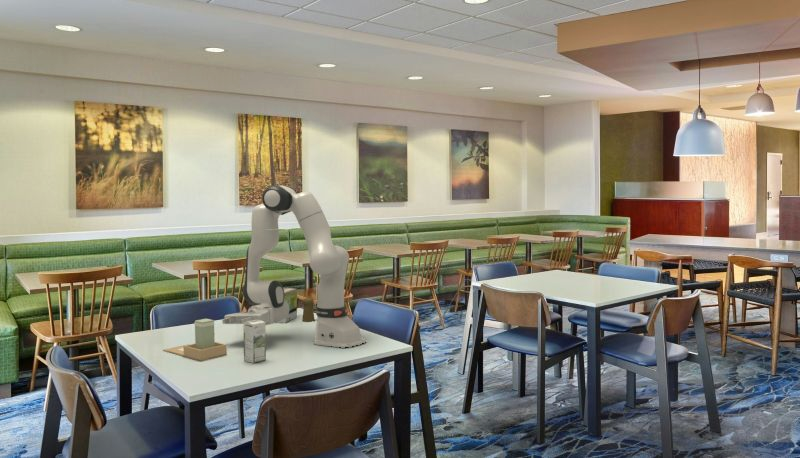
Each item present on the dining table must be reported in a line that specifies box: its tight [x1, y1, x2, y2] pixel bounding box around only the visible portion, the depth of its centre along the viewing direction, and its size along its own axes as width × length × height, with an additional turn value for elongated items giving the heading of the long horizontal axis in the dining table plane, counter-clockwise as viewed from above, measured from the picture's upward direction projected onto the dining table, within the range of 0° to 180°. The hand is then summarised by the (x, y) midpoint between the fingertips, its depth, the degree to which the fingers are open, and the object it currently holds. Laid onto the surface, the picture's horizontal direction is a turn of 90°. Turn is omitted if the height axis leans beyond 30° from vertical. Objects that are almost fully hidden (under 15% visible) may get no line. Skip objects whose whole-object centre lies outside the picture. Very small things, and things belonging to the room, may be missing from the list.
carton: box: [194, 318, 216, 350], centre depth 233 cm, size 5×5×13 cm
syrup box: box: [243, 320, 267, 364], centre depth 225 cm, size 6×6×14 cm
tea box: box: [275, 287, 298, 324], centre depth 300 cm, size 15×10×15 cm, turn 168°
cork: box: [301, 297, 315, 323], centre depth 297 cm, size 6×6×11 cm
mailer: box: [162, 341, 228, 362], centre depth 238 cm, size 26×11×4 cm, turn 51°
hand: (232, 321), depth 241 cm, fingers open, 8 cm apart
